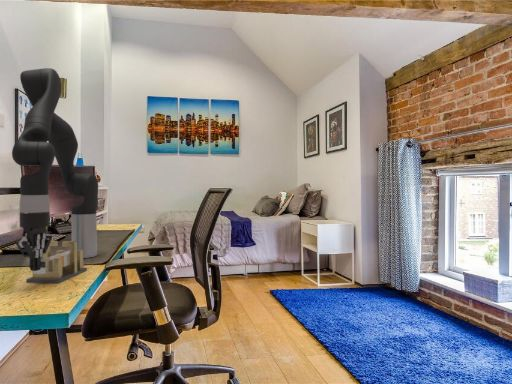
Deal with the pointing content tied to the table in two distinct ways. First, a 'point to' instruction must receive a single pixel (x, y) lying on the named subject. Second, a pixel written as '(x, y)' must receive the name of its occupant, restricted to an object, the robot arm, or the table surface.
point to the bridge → (72, 253)
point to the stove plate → (65, 276)
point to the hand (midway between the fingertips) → (35, 270)
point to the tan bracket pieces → (58, 266)
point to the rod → (48, 262)
